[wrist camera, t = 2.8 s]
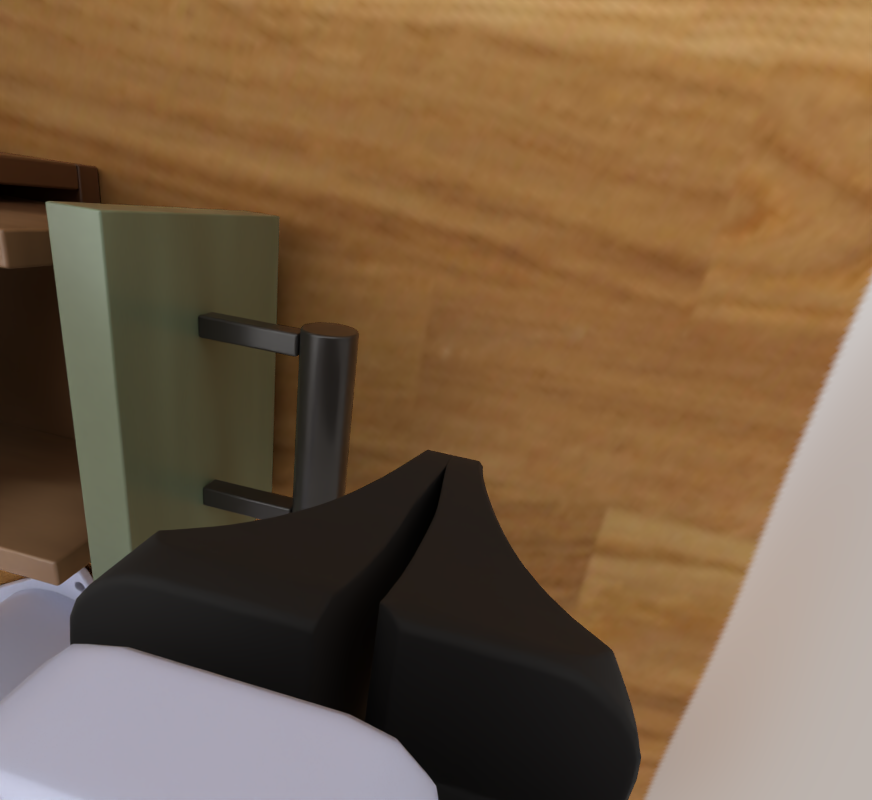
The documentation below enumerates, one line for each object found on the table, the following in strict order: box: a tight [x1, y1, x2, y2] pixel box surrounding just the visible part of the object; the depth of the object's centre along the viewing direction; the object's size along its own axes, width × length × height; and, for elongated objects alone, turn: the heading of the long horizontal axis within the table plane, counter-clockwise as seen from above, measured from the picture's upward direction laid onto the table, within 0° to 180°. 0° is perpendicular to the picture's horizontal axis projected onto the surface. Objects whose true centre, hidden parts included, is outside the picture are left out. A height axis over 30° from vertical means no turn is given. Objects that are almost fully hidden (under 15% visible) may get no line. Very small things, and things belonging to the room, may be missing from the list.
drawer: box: [0, 195, 359, 586], centre depth 15 cm, size 17×10×7 cm, turn 82°
